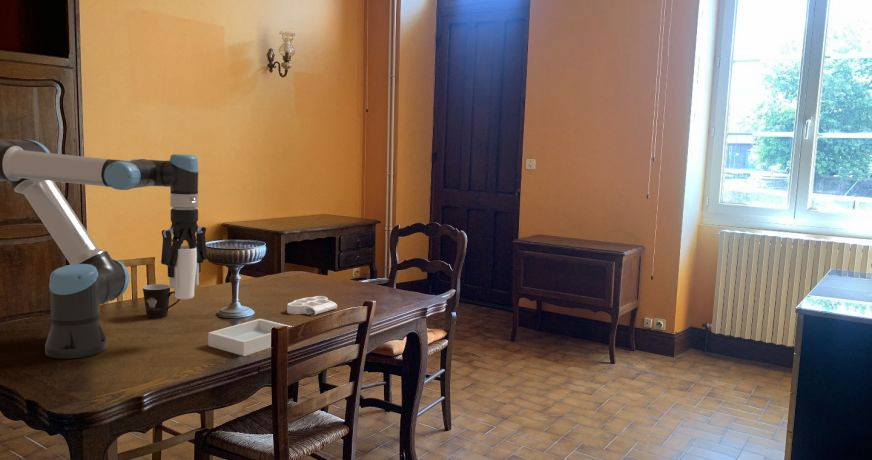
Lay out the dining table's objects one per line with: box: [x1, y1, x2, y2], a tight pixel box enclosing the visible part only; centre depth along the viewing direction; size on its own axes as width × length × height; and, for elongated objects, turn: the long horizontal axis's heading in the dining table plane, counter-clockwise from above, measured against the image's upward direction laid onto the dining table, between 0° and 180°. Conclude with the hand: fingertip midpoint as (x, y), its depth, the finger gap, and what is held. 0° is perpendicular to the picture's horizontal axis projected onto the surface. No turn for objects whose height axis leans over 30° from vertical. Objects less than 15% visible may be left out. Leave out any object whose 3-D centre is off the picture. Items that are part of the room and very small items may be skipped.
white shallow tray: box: [207, 318, 292, 357], centre depth 199 cm, size 20×15×4 cm
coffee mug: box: [142, 283, 181, 320], centre depth 223 cm, size 12×9×10 cm
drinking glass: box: [174, 245, 197, 300], centre depth 196 cm, size 7×7×15 cm
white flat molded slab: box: [286, 295, 338, 316], centre depth 240 cm, size 3×18×15 cm
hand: (184, 285), depth 197 cm, fingers closed on drinking glass, 7 cm apart
